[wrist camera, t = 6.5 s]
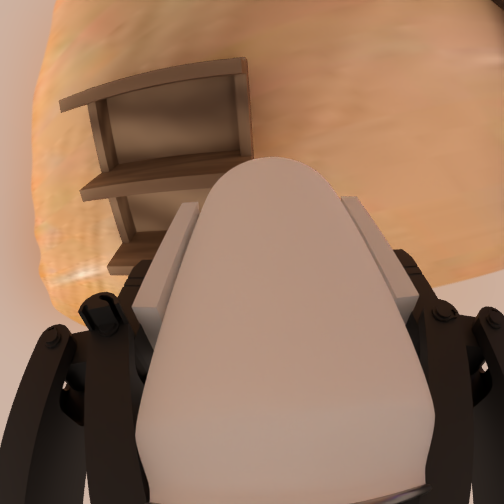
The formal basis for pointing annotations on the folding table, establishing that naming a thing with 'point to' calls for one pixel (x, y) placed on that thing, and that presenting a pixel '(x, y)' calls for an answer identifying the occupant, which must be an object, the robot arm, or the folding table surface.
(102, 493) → the robot arm
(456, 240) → the folding table surface
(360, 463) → the can
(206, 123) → the rack
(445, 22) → the folding table surface
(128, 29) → the folding table surface
